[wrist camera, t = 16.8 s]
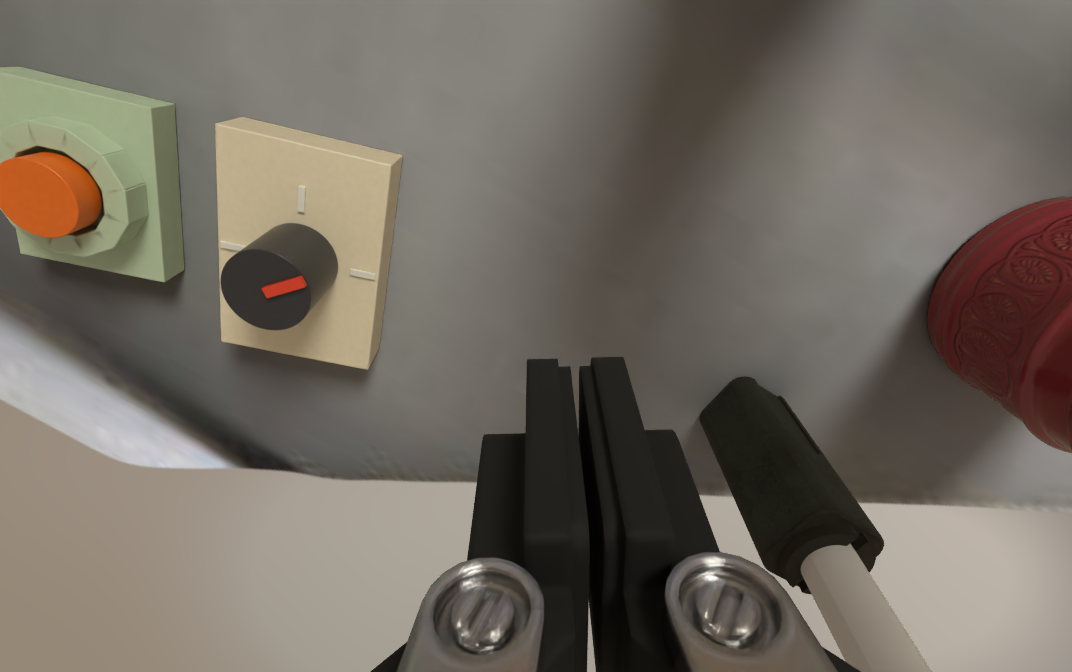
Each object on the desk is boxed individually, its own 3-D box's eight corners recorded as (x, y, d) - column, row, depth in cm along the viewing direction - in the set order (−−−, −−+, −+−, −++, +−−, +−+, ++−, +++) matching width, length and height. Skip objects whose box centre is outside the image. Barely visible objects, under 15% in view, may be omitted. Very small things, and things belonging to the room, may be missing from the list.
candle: (692, 420, 41) (882, 867, 19) (741, 370, 39) (1017, 804, 17) (744, 450, 42) (977, 900, 20) (793, 403, 40) (1112, 846, 18)
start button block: (18, 66, 30) (-51, 69, 26) (175, 103, 31) (128, 111, 27) (49, 241, 34) (-7, 264, 31) (185, 269, 35) (145, 295, 32)
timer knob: (283, 304, 33) (246, 342, 29) (244, 235, 31) (199, 265, 27) (351, 284, 32) (323, 320, 28) (316, 213, 30) (281, 240, 26)
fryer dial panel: (241, 116, 31) (212, 123, 28) (403, 154, 32) (390, 165, 29) (243, 320, 37) (219, 343, 34) (379, 347, 38) (367, 371, 35)
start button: (13, 143, 28) (-17, 149, 26) (97, 162, 28) (72, 168, 27) (27, 219, 30) (-1, 228, 28) (106, 235, 30) (83, 246, 29)
